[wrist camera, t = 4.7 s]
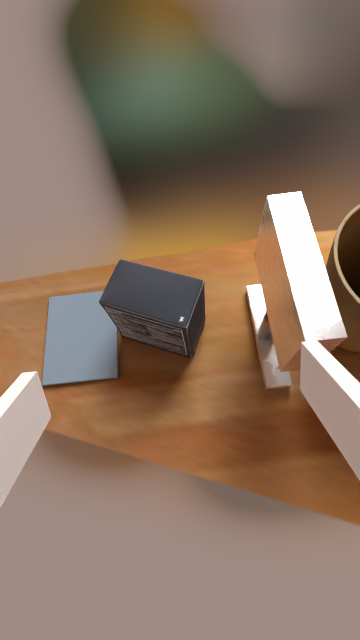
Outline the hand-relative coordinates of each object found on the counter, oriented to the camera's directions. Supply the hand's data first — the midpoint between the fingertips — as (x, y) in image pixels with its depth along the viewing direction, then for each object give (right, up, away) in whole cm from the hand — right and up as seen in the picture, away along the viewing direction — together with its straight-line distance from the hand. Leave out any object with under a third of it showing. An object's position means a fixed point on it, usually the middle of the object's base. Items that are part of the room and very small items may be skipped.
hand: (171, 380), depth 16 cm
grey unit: (+12, +1, +26) cm, 29 cm away
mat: (-13, +1, +29) cm, 31 cm away
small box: (-2, +2, +28) cm, 28 cm away
